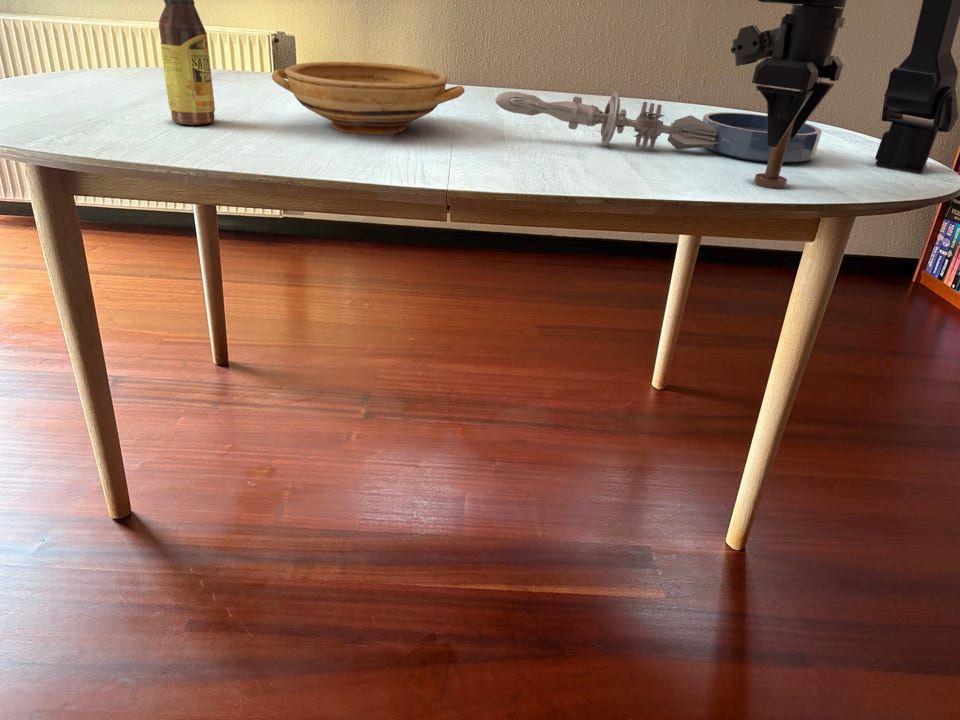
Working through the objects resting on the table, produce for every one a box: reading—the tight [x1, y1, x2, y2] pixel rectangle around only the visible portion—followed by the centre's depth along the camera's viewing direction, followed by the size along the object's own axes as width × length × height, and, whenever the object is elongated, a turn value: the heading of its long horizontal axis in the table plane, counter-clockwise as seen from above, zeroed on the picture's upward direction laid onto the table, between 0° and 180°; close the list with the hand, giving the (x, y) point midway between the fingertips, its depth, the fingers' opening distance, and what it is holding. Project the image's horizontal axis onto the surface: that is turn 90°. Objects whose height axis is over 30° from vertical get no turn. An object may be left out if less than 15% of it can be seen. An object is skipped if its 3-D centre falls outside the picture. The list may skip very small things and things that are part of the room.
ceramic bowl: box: [271, 61, 465, 135], centre depth 104 cm, size 30×24×8 cm
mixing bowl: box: [702, 111, 823, 164], centre depth 108 cm, size 18×18×4 cm
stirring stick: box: [753, 120, 795, 190], centre depth 88 cm, size 4×4×12 cm
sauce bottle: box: [158, 0, 216, 126], centre depth 96 cm, size 7×6×20 cm
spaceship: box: [494, 91, 720, 151], centre depth 104 cm, size 8×35×8 cm
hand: (780, 141), depth 88 cm, fingers open, 8 cm apart
